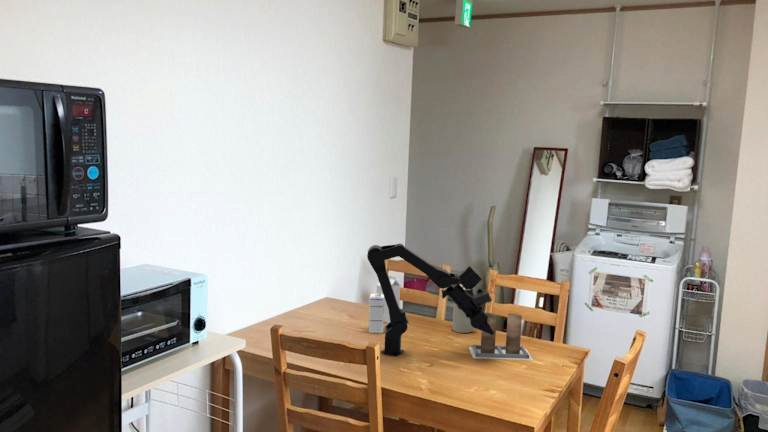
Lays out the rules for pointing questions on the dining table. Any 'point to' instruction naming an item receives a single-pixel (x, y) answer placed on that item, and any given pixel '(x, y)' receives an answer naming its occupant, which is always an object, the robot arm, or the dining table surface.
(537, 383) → the dining table surface
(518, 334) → the billet
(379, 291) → the milk carton
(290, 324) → the dining table surface
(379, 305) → the syrup box
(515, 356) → the pallet board
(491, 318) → the billet
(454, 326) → the travel mug
